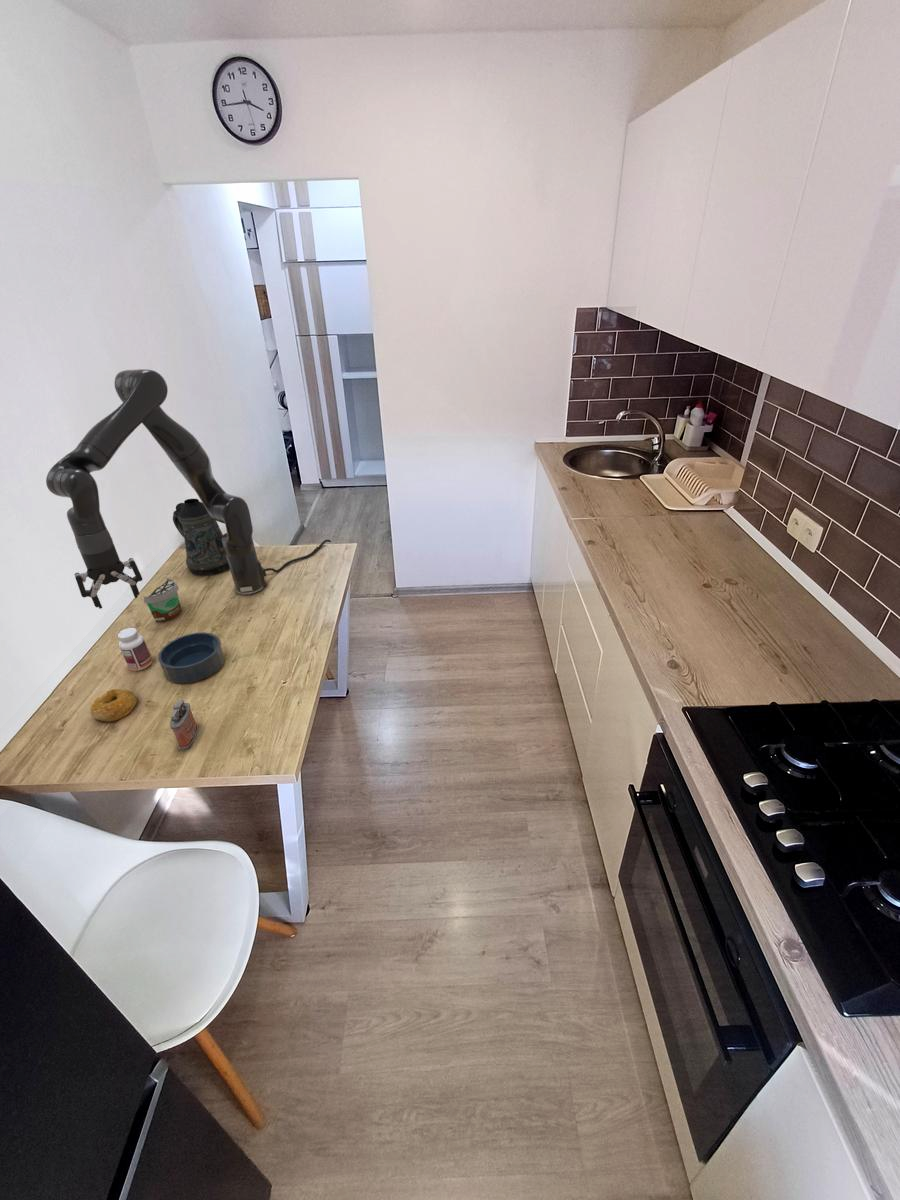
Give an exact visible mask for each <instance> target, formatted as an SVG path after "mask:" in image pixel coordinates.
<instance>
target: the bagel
mask: <svg viewBox="0 0 900 1200" xmlns="http://www.w3.org/2000/svg"><path fill="white" fill-rule="evenodd" d="M101 695H102V696H100V697H97V698H96V699H94V701H93V702H92V704H91V707H90V716H91V717H92V718H93V719H96V720H98V721H102V722H107V723H109V722H115V721H117V720H120V719H123V718H124V717H126V716H127V715H129V714H130V713H131V712H132V711H133V710H134V708H135V706H136V704H137V702H138V700H137V698H136V695H135V693H134V692H133V691H132V690H129V689H121V688H115V689H114V688H113V689H110V690H108V691H106V693H104V694H101Z"/></svg>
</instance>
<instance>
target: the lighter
mask: <svg viewBox="0 0 900 1200" xmlns="http://www.w3.org/2000/svg"><path fill="white" fill-rule="evenodd" d="M191 707H192V706H191V704H190V703H189V702H185V701H184V699H182V698H181V699H178V700H177V701H176V704H174V705H173V706H172V713H171V715H170V717H169V718H170V721H169V727H170V730H172V732H173V735H174V736H175V739H176V742H177V744H178V749H179V750H180V751H181V752H185V751H188V750H190V749H191V748H192V747H193V745H194V744H195V741H196V740H197V737H198V735H199V730H200V729H199V725H198V723H197V722H196V720H195V717H194V714H193V711H192V709H191Z"/></svg>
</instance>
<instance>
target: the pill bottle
mask: <svg viewBox="0 0 900 1200" xmlns="http://www.w3.org/2000/svg"><path fill="white" fill-rule="evenodd" d="M117 637H118V640H119V641H118V647H119V649H120V652H121V654H122V656H123V658H124V660H125V662H126V664H127V667H128V668H129V670H130V671H134V672H137V671H138V672H139V671H142V670H145V669H147V668H149V666H151V664H152V663H153V657H152V655H151V652H150V650H149V647H148V646H147V643H146V641H145V638H144V636H143V635H142V634H139V632H138V630H137V629H136V628H135V627H128V628H125V629H123V630H122V629H121V631H119V632H118V634H117Z"/></svg>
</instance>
